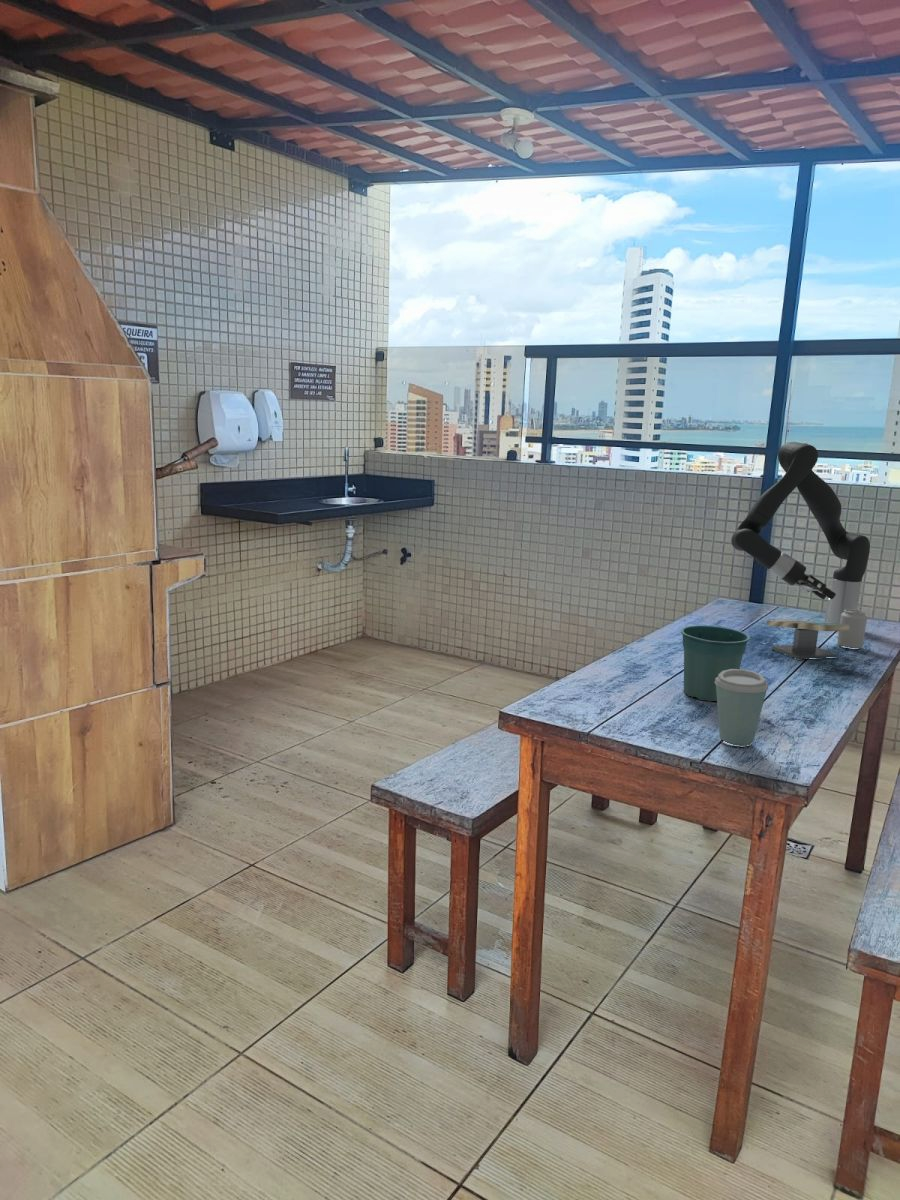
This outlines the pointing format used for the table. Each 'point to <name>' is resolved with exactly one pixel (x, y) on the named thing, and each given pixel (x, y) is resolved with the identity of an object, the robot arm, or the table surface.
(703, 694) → the flower pot
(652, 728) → the table surface
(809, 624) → the beam
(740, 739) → the disposable coffee cup
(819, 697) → the table surface
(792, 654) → the stand
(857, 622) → the can
